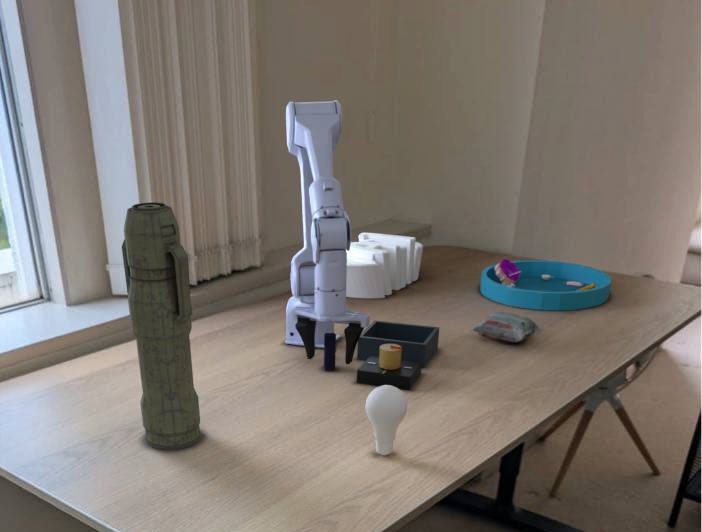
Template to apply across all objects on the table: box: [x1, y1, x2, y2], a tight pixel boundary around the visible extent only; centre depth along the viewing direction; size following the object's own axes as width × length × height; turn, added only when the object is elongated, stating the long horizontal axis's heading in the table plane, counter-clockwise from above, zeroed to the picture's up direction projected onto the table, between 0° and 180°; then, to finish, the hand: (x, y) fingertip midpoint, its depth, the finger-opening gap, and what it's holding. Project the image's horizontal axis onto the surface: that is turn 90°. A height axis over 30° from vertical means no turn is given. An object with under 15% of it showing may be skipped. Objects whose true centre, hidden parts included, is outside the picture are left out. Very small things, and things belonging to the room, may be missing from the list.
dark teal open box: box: [356, 320, 440, 369], centre depth 158 cm, size 13×11×5 cm
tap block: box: [356, 356, 422, 391], centre depth 148 cm, size 10×8×3 cm
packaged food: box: [469, 311, 542, 343], centre depth 165 cm, size 9×12×5 cm
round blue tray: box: [479, 258, 613, 311], centre depth 193 cm, size 30×30×6 cm
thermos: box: [121, 201, 201, 451], centre depth 119 cm, size 9×12×35 cm
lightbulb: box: [365, 385, 408, 456], centre depth 119 cm, size 6×6×11 cm
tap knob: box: [379, 344, 402, 370], centre depth 146 cm, size 4×4×4 cm
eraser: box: [323, 332, 337, 372], centre depth 151 cm, size 2×2×7 cm
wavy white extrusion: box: [345, 232, 424, 299], centre depth 200 cm, size 35×16×10 cm, turn 145°
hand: (329, 359), depth 152 cm, fingers open, 7 cm apart
